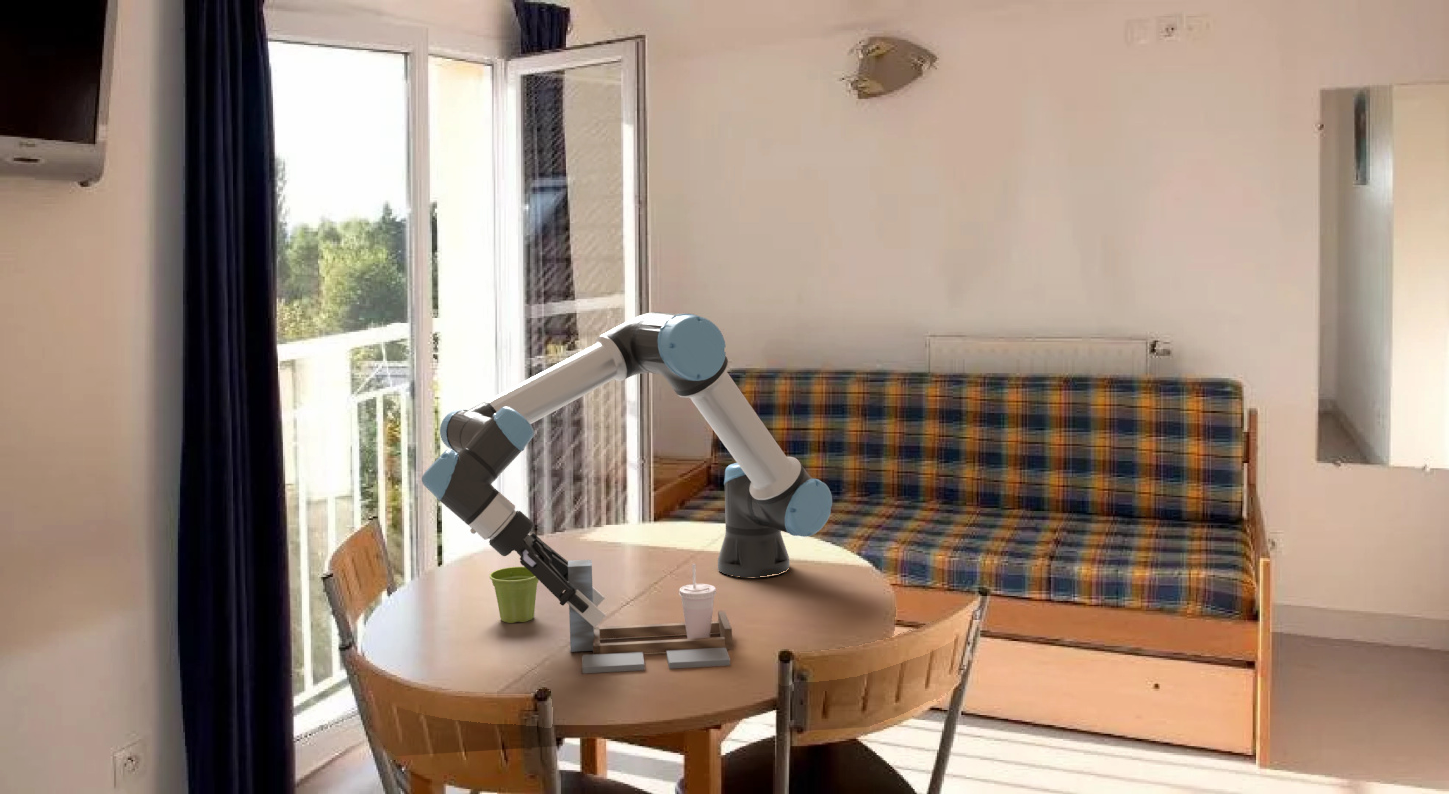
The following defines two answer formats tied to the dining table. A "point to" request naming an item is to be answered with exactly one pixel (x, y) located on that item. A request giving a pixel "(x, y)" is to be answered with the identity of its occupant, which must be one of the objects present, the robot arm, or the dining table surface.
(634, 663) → the broken strip
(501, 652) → the dining table surface
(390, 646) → the dining table surface
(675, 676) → the dining table surface
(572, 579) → the sled
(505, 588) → the plant pot
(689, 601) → the smoothie
